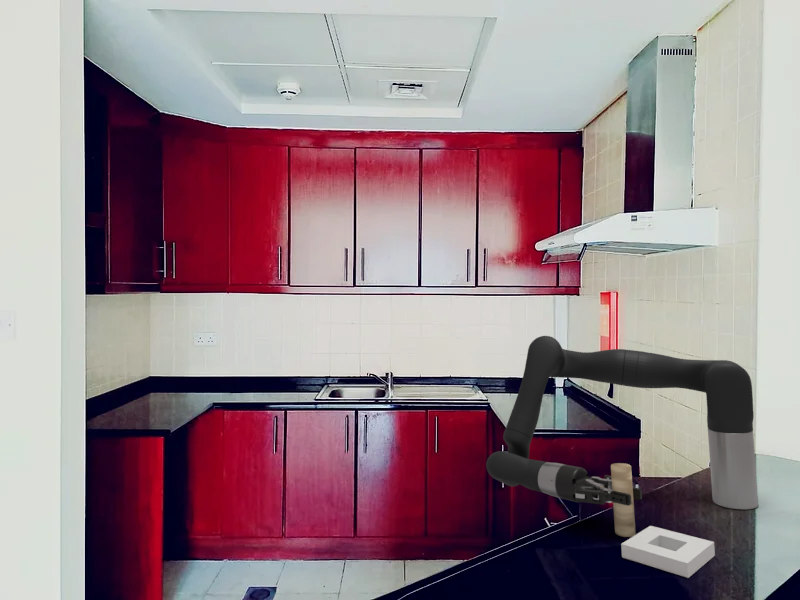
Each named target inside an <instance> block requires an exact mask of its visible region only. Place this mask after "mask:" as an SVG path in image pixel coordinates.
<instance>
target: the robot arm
mask: <svg viewBox="0 0 800 600" xmlns="http://www.w3.org/2000/svg"><path fill="white" fill-rule="evenodd" d="M525 360H526V361H525V365H524V370H523V371H524V372H523V376H522V379H521V383H520V387H519V389H518V393H517V396H516V399H515V402H514V404H513V408H512V410H511V412H510V414H509V418H508V421H507V424H506V427H505V430H504V431H503V434H502V435H503V436H502V437H503V441H504V442H505V443H506V445H507V451H504V450H502V451H501V450H500V451H495V452H493V453H492V454H490V455H489V456H488V458H487V460H486V464H485V465H486V471H487V472H488V475H489V476H491V477H492V479H494V480H497V481H498V482H500V483H502V484H504V485H506V486H508V487H517V486H519V485H520V486H522V487H525V488H526V489H529V490H531V491H535V492H539V493H543V494H546V495H549V496H552V497H555V498H559V499H562V500H567V501H571V502H575V503H587V504H594V505H595V504H596V505H602V506H603V505H606V503H608V504H613V502H614V503H619V504H623V505H627V506H629V505H631V503H632V502H631V495H630V494H627V493H622V492H617V491H612V477H611V475H608V474H605V475H604V478H601V477H600V476H590V475H589V474H588V472H587V470H586V469H585V468H583V467H580V466H575V465H568V464H564V463H559V462H549V461H543V460H537V459H536V460H535V459H531V458H530V446H531V442H532V439H533V436H534V434H535V431H536V428H537V424H538V421H539V418H540V414H541V413H540V412H541V407H542V402H543V397H544V394H545V391H546V387H547V385H548V381H549V379H550V378H568V379H570V378H571V379H582V380H583V379H584V380H588V381H592V382H593V381H594V382H599V383H605V384H606V383H607V384H612V385H616V386H617V385H618V386H624V387H630V388H631V387H632V388H639V389H640V388H641V389H670V388H671V389H675V388H676V389H686V390H691V391H696V392H700V393H705V395H706V410H707V412H706V413H707V416H706V424H707V426H706V427H707V436H708V450H709V451H708V452H709V463H710V464H709V465H710V479H711V480H710V481H711V494H712V496H711V497H712V502H713V503H714V504H716V505H718V506H720V507H724V508H728V509H734V510H753V509H756V508H758V507H759V496H758V495H759V494H758V480H757V469H756V468H757V465H756V464H757V463H756V453H755V442H754V441H755V439H754V414H755V413H754V400H753V395H754V394H753V386H752V379H751V376H750V374H749V373H748V371H747V370H746V369H745V368H744V367H742V366H741V365H740V364H739V363H736V362H734V361H731V360H728V359H727V360H725V359H724V360H723V359H721V360H720V359H718V360H713V359H708V360H706V359H687V358H677V357H673V356H670V355H665V354H658V353H654V352H646V351H640V350H633V349H622V348H614V349H606V350H599V351H591V352H590V351H589V352H588V351H587V352H583V351H574V350H570V349H564V348H562V346H561V343H560V342H559V341H558V340H557V339H556V338H554V337H553V336H550V335H541V336H538V337H536V338H535V339H533V340H532V341H531V342H530V344H529V346H528V349H527V354H526V359H525ZM642 499H643V489H641V488H638V487H634V486H633V500H637V501H640V500H642Z"/></svg>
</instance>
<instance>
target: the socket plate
mask: <svg viewBox="0 0 800 600" xmlns="http://www.w3.org/2000/svg"><path fill="white" fill-rule="evenodd" d="M620 546H621V547H620V548H621V558H623V559H626V560H629V561H633V562H635V563H639V564H642V565H646V566H648V567H653V568H655V569H659V570H661V571H665V572H668V573H671V574H675V575H678V576H681V577H684V578H687V579H689V578H690V577H691V576H693V574H695V573H696V572H698V570H700V568H702V567H703V566H704V565H705V564H707V562H709V561H710V560H712V559H713V558H714V557H715V556H716V553H715V541H712V540H708V539H704V538H701V537H700V538H699V537H696V536H692V535H688V534H685V533H680V532H676V531H673V530H669V529H666V528H661V527H657V526H653V525H649V526H648V527H646V528H644V529H642V530H641V531H639V532H638V533H636V535H635V536H632V537H629V539H628V538H627V540H625V541H624V542H622V543H621V544H620Z"/></svg>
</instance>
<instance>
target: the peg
mask: <svg viewBox="0 0 800 600" xmlns="http://www.w3.org/2000/svg"><path fill="white" fill-rule="evenodd" d="M610 473H611V474H610V476H611V477H612V491H617V492H622V493H627V494H630V495H631V502H632V503H631V505H629V506H627V505H623V504H619V503H614V502H612V504H613V505H612V506H613V520H614V522H613V523H614V533H615V535H617V536H620V537H623V538H627V537H628V538H631V537H633V536H635V535H636V534H637V532H636V522H635V521H636V520H635V503H634V501H635V500H634V499H633V487H634V486H633V475H632V465H630V463H629V464H628V463H624V462H623V463H622V462H617V463H611V464H610Z"/></svg>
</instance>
